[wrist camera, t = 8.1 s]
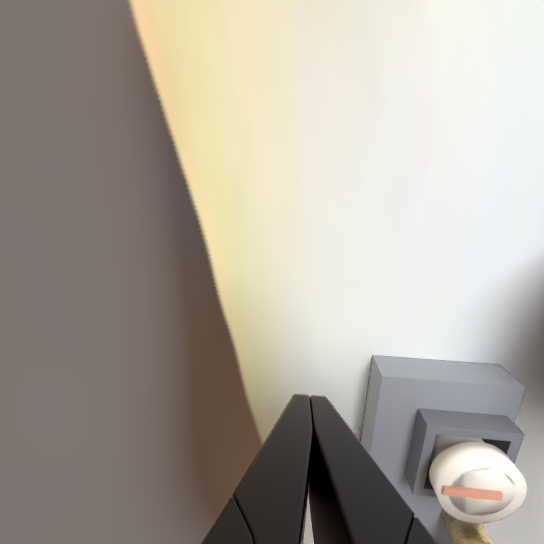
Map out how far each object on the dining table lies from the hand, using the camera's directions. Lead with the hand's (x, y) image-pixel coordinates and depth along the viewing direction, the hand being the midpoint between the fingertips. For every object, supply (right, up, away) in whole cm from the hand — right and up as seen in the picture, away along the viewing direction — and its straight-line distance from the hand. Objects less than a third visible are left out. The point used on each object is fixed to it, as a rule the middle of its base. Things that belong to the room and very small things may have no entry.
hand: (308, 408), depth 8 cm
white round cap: (+12, -8, +14) cm, 20 cm away
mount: (+10, -13, +16) cm, 23 cm away
